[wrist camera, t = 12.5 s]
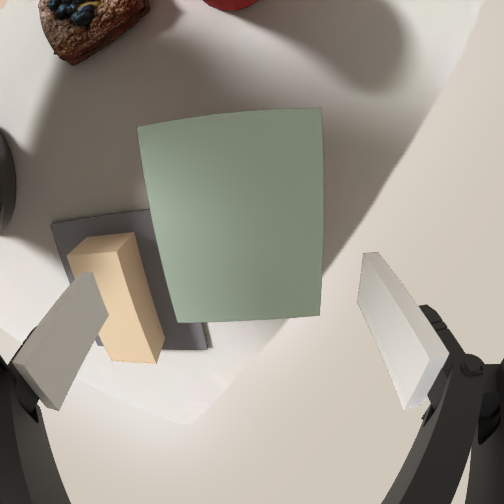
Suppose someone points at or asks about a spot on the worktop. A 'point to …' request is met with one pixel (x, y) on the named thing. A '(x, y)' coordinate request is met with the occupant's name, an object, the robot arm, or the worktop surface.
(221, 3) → the plastic cup
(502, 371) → the robot arm
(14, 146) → the worktop surface
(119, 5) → the pastry
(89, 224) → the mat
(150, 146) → the sheet
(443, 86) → the worktop surface
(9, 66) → the worktop surface
